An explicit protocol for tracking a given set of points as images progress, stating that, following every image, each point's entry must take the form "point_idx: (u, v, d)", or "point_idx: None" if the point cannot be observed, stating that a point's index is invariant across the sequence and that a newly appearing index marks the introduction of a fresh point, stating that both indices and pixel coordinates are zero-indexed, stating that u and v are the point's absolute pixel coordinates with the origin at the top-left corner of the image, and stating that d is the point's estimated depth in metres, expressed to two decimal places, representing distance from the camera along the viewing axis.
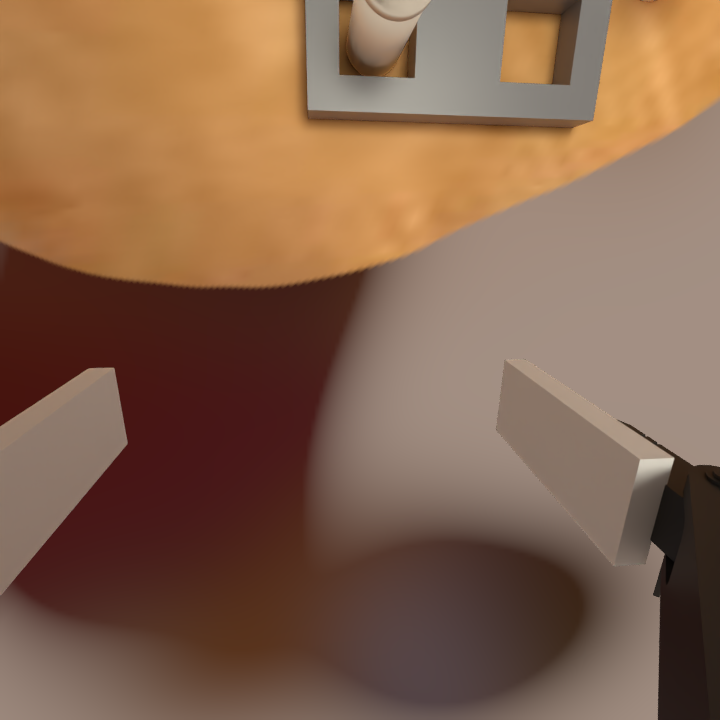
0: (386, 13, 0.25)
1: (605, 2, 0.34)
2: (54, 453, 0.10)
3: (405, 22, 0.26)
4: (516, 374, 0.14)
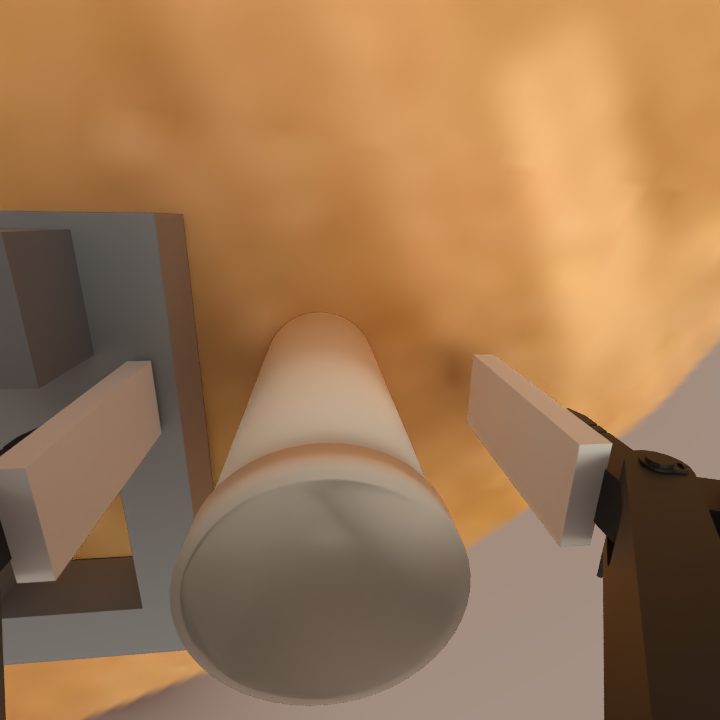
0: None
1: (174, 487, 0.16)
2: (105, 438, 0.11)
3: None
4: (482, 367, 0.14)
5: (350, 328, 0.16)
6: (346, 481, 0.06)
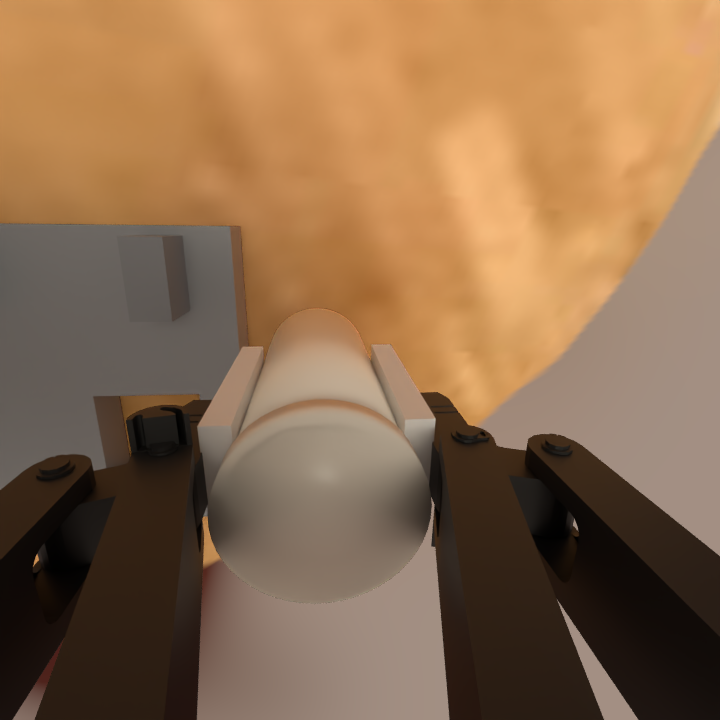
0: None
1: None
2: None
3: None
4: (374, 356, 0.16)
5: (341, 320, 0.19)
6: (332, 423, 0.09)
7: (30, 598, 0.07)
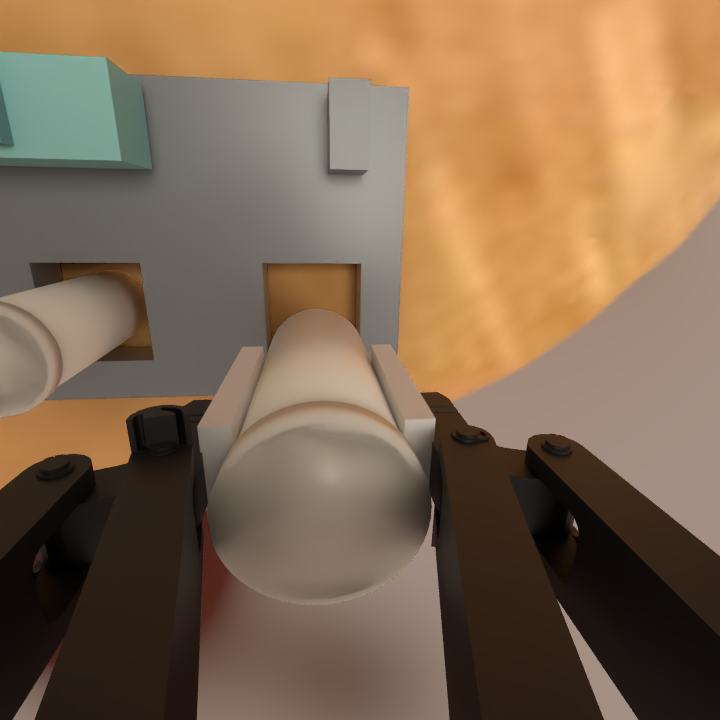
0: None
1: (392, 268, 0.27)
2: None
3: None
4: (374, 356, 0.16)
5: (340, 321, 0.19)
6: (331, 424, 0.09)
7: (30, 598, 0.07)
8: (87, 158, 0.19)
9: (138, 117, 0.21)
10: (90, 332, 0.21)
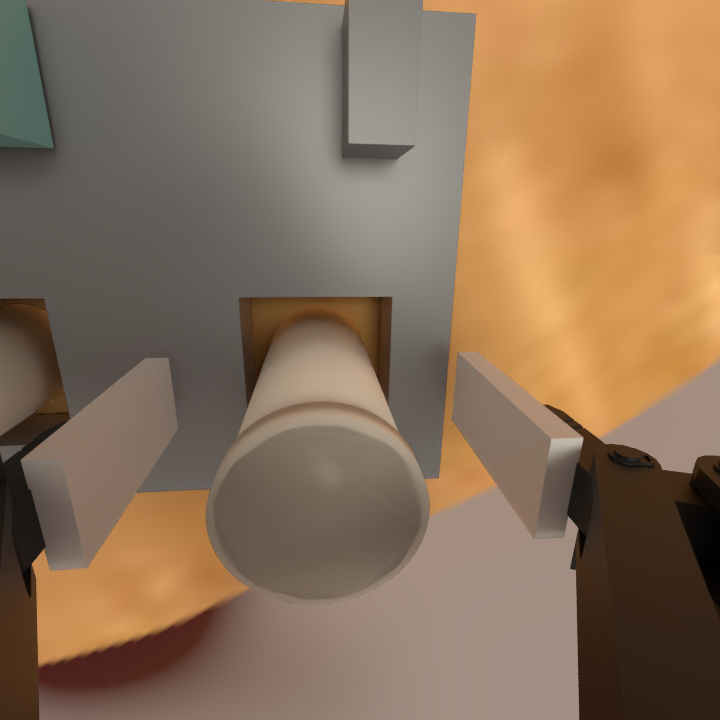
0: None
1: (440, 303, 0.17)
2: (129, 432, 0.11)
3: None
4: (466, 365, 0.15)
5: (340, 319, 0.19)
6: (327, 425, 0.09)
7: None
8: None
9: (14, 53, 0.12)
10: None
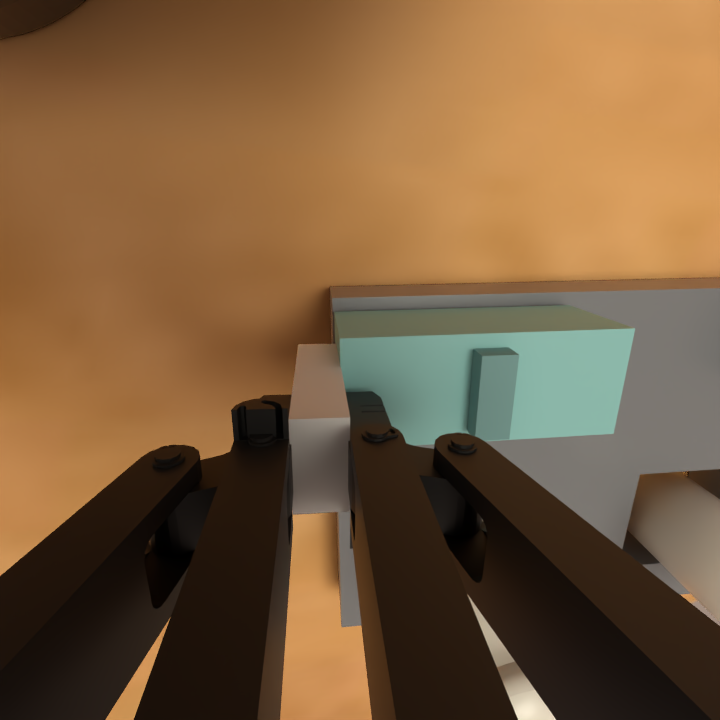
0: None
1: None
2: None
3: None
4: (317, 355, 0.16)
5: (682, 474, 0.24)
6: None
7: (141, 583, 0.07)
8: (576, 434, 0.16)
9: None
10: None
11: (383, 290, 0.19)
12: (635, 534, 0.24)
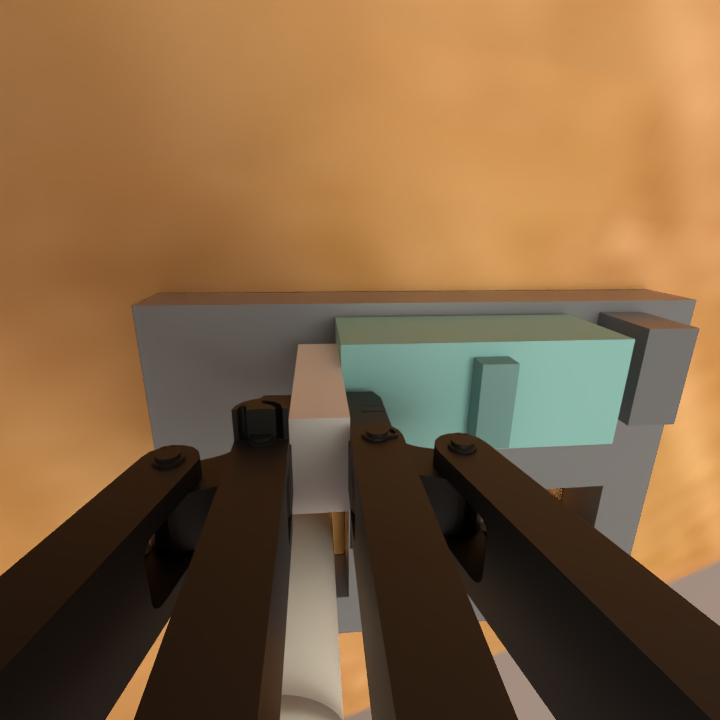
0: None
1: (638, 488, 0.22)
2: None
3: None
4: (317, 355, 0.15)
5: None
6: None
7: (141, 583, 0.07)
8: (575, 443, 0.16)
9: None
10: None
11: (204, 298, 0.18)
12: None
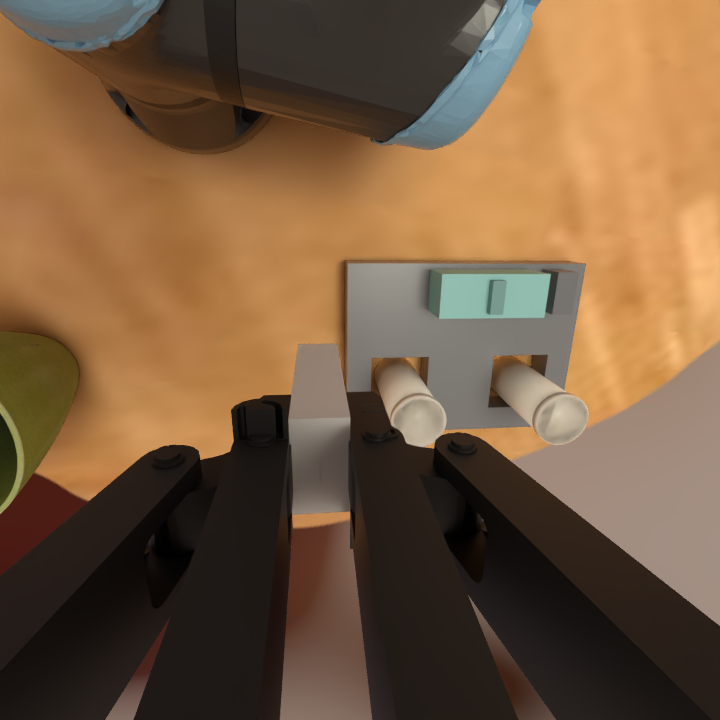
0: None
1: (565, 356, 0.46)
2: None
3: None
4: (317, 355, 0.16)
5: None
6: (568, 397, 0.37)
7: (141, 583, 0.07)
8: (529, 317, 0.39)
9: None
10: None
11: (370, 261, 0.42)
12: (496, 391, 0.47)
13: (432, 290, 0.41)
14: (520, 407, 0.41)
